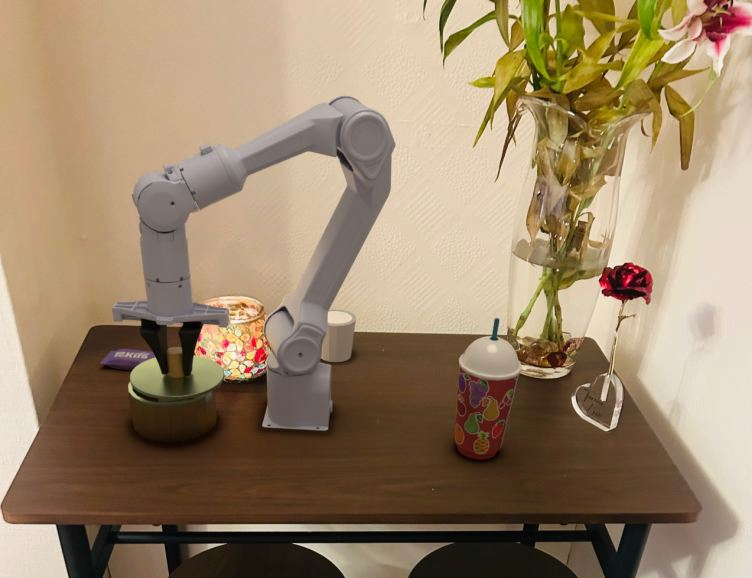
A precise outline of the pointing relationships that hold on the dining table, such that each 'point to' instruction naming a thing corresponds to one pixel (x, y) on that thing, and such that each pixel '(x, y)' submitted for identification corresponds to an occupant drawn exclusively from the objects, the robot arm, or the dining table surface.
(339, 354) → the white cup
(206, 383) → the tin lid
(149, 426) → the tin
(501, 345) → the smoothie
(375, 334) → the dining table surface
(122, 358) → the snack package
